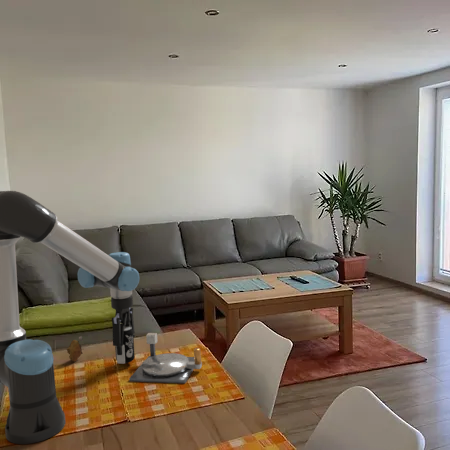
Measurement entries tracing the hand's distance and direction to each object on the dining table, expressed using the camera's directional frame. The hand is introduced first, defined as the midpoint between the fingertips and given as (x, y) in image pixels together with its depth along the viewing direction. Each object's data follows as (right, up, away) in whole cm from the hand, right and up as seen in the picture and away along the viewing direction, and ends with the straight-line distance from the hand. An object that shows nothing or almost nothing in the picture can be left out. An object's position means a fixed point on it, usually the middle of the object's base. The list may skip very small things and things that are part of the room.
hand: (125, 359), depth 169 cm
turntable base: (+15, -2, -6) cm, 17 cm away
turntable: (+18, -1, -7) cm, 19 cm away
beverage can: (0, -1, 0) cm, 1 cm away
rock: (-19, -3, +7) cm, 21 cm away
